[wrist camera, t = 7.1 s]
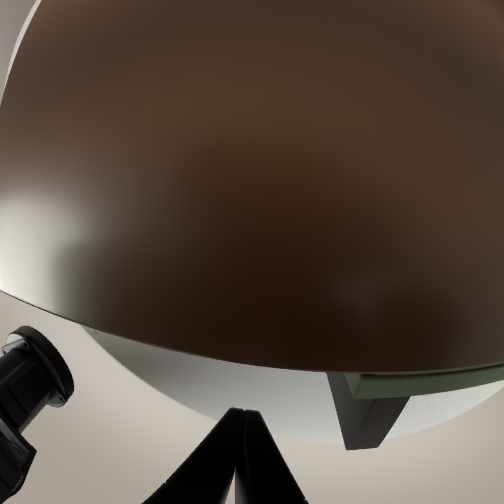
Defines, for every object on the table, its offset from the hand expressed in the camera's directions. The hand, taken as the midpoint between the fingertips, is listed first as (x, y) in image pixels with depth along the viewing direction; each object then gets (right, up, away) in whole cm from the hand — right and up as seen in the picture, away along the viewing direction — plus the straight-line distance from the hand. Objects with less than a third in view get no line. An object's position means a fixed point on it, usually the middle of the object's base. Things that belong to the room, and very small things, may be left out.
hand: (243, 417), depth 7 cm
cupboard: (+4, +8, +5) cm, 11 cm away
